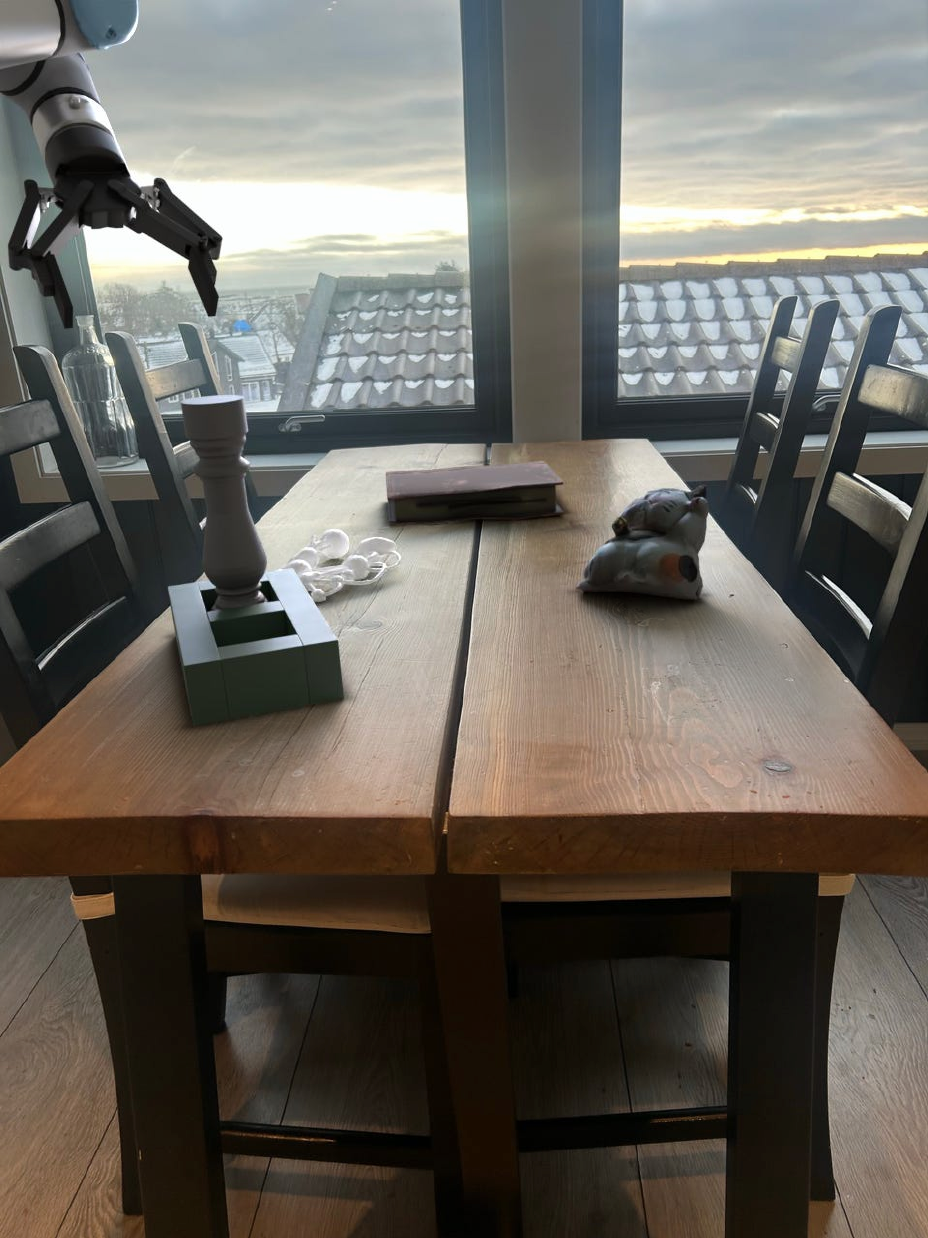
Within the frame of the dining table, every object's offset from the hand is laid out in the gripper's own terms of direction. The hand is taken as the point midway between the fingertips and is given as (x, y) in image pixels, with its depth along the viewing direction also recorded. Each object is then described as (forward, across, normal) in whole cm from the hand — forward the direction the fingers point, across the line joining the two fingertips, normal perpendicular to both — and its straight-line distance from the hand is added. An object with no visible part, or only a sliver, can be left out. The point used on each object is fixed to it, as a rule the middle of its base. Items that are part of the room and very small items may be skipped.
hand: (143, 312), depth 95 cm
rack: (+33, +2, +14) cm, 35 cm away
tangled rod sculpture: (+19, +19, +28) cm, 39 cm away
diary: (+5, +50, +42) cm, 65 cm away
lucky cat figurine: (+38, +44, +9) cm, 59 cm away
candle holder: (+29, +3, +17) cm, 34 cm away
